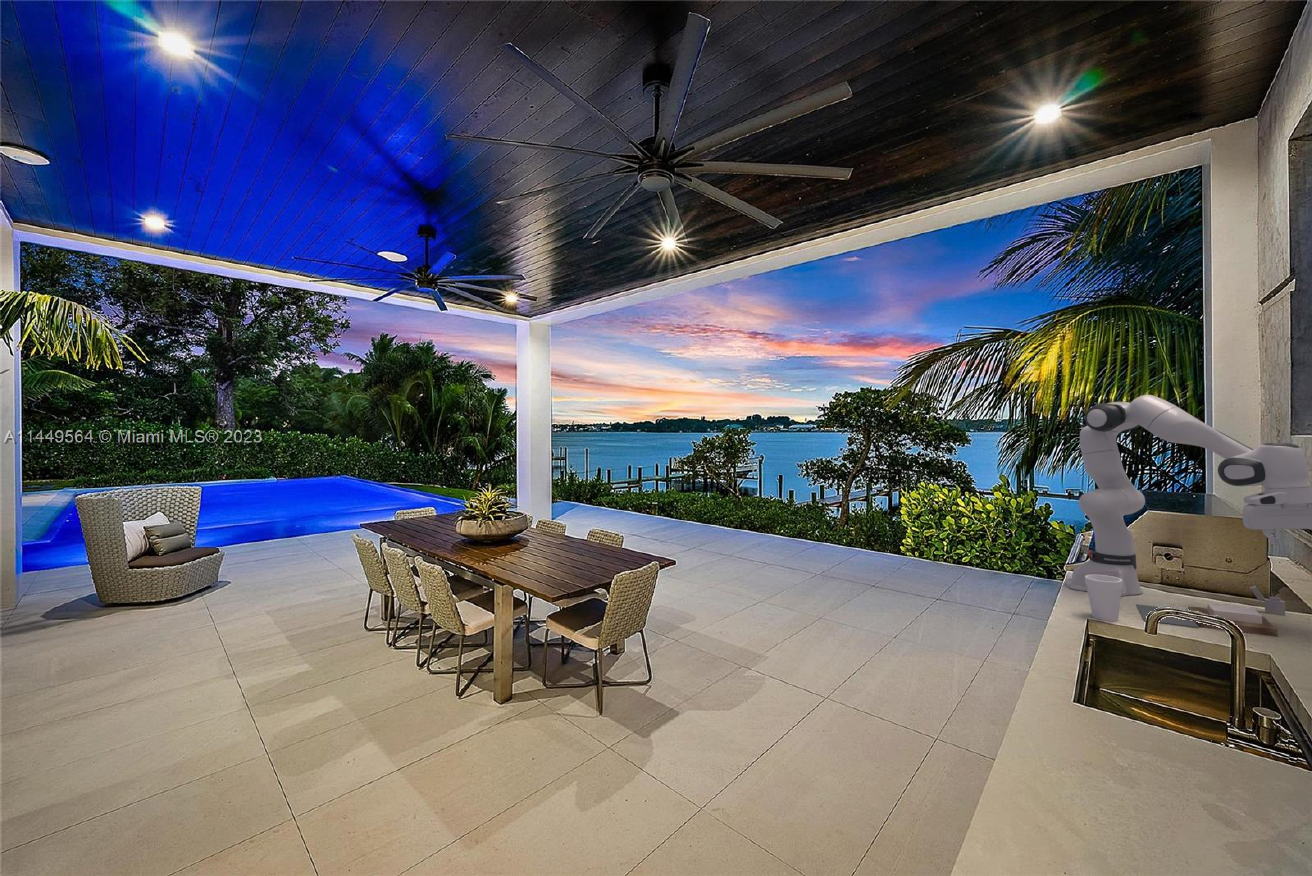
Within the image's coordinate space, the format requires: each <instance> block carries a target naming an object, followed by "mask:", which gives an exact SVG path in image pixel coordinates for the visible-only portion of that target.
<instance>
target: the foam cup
mask: <svg viewBox="0 0 1312 876" xmlns="http://www.w3.org/2000/svg"><path fill="white" fill-rule="evenodd" d="M1085 584H1086V586H1087V591H1086V592H1087V595H1088V599H1089V604H1090V609H1091V612H1092V613H1091V614H1092V617H1093V616H1094V617H1093V618H1095V619H1098V620H1100V621H1101V620H1102V621H1108V622H1113V621H1114V622H1117V621H1119V616H1120V607H1121V598H1122V596H1121V590H1122V588H1123V586H1122V579H1120V578H1117V577H1113V576H1107V575H1086V576H1085Z"/></svg>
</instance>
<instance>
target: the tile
mask: <svg viewBox="0 0 1312 876" xmlns="http://www.w3.org/2000/svg"><path fill="white" fill-rule="evenodd" d="M1207 608H1208V612H1209V613H1210V615H1218V616H1220V617H1221V618H1225V619H1226V620H1232V621H1240V622H1249V623H1258V624H1262V616H1263V615H1262V614H1261V613H1259V611H1257V610H1256V609H1255V608H1252V607H1251V608H1249V607H1240V606H1239V607H1238V606H1232V605H1229V606H1228V605H1221V604H1211V603H1207Z"/></svg>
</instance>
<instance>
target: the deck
mask: <svg viewBox="0 0 1312 876" xmlns="http://www.w3.org/2000/svg"><path fill="white" fill-rule="evenodd" d="M1188 609H1189V610H1191V611H1199V612H1202V613H1205V614H1208V615H1210V613H1209V612H1208V607H1196V606H1189V605H1188V606H1187V610H1188ZM1230 621H1232V620H1230ZM1233 622H1234V623H1235V625H1238V627H1239V628H1240V629H1241V630H1242V631H1243V632H1242V633H1245V632H1249V633H1248V634H1256V635H1262V636H1263V635H1264V636H1270V635H1271V636H1272V637H1279V635H1278V634H1279V633H1278V629H1277V628H1276V626H1274V625H1273V624H1272V623H1271V622H1269V620H1267V619H1266V618H1265V617H1264V616H1263V615H1262V624H1258V623H1249V622H1240V621H1233ZM1195 623H1196V624H1197V625H1198V627H1199V628H1205V629H1206V628H1207V629H1213V630H1214V629H1215V630H1223V631H1225V630H1224V629H1221V628H1218V627H1216V626H1212V625H1207V624H1203V623H1198V622H1195ZM1271 636H1270V637H1271Z"/></svg>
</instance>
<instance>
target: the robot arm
mask: <svg viewBox="0 0 1312 876" xmlns="http://www.w3.org/2000/svg"><path fill="white" fill-rule="evenodd" d="M1084 422H1085V424H1086V426H1084V427H1082V428H1081V430H1080V431H1079V446H1080V451H1081V457H1082V460H1083V466H1084V468H1085V469H1084V470H1085V473H1086V475H1087V476H1088V477H1090V478H1091V479H1092V480H1093V481H1094V482H1095V484H1096V485H1097V487H1098V488H1095V489H1092V490H1090V491H1087V492H1085V493H1083V494H1082V495H1081V496H1080V497H1079V500H1078V507H1079V509H1080V511H1082V513H1083V514H1084V515H1086V516H1087V518H1088V519H1089V522H1090V524H1091V527H1092V528H1093V534H1094V543H1095V546H1094V547H1095V550H1094V551H1093V550H1092V549H1088V550H1086V552H1087V555H1088V558H1089V560H1088V561H1085V562H1083V563H1082V564H1080V565H1078V566H1076V567H1075V568H1074V569H1073V571H1072V574H1071V578H1068V579H1066V580H1065V582H1064V583H1065V586H1066V587H1067V588H1068V589H1070V590H1075V591H1082V592H1088V591H1087V586H1086V584H1085V576H1086V575H1107V576H1113V577H1117V578H1120V579H1122V586H1123V588H1122V590H1121V597H1125V596H1134V595H1140V594H1142V593H1143V590H1142V587H1141V585H1140V582H1139V578H1138V574H1137V567H1138V560H1137V559H1138V558H1137V556H1136V553H1135V546H1134V533H1133V532H1132V531H1131V530H1130V529H1129V528H1128V527H1127V525H1126V523H1125V520H1124V516H1127V515H1133V514H1134V513H1137V512H1139V511H1140V510H1142V509H1143V508H1144V506H1145V504H1146V498H1145V495H1144V494H1143V492H1142V491H1140V490H1138V489H1137V488H1136V487H1135V486H1134V484H1133V483H1132V481H1131V480H1130V478H1129V477H1128V475H1127V473H1126V471H1125V469H1124V466H1123V463H1122V457H1121V453H1120V450H1119V447H1118V443H1117V436H1118V435H1119V434H1126V433H1128V432H1130V431H1132V430H1135V429H1137V428H1139V427H1142V428H1144V429H1145V430H1146V431H1148V432H1150V433H1151V434H1153V435H1154V436H1155V437H1158V438H1159V439H1161V440H1164V441H1166V442H1168V443H1173V444H1182V445H1189V446H1195V447H1201V448H1204V449H1206V450H1208V451H1211V452H1213V453H1214V454H1216V455H1218V456H1220V457H1221V458H1223V459H1224V460H1222V461H1221V462H1220V463H1219V464H1218V466H1217V474H1218V476H1219V478H1220V479H1221V480H1222V481H1223V482H1224V483H1225V484H1227V485H1230V486H1233V487H1240V488H1241V487H1242V488H1243V487H1255V486H1256V487H1257V486H1264V491H1261V492H1258V493H1255V494H1251V495H1246V496H1245V497H1244V498H1243V502H1244V503H1245V506H1243V508H1242V522H1243V523H1242V524H1243V526H1244V527H1245V528H1247V529H1248V530H1252V531H1253V530H1254V531H1255V530H1256V531H1257V530H1258V531H1259V530H1261V531H1262V534H1263V535H1264V536H1265V537H1266V538H1267V539H1268V541H1269V542H1268V543H1269V544H1270V545H1271V546H1277V545H1278V546H1279V545H1281V543H1280V538H1276V537H1274V536H1273V535H1272V534H1273V530H1307V529H1308V530H1311V529H1312V484H1311V482H1310V481H1309V478H1308V475H1309V466H1308V462H1307V459H1306V456H1305V453H1304V451H1303V449H1302V448H1301V447H1300V446H1298V445H1297V444H1294V443H1287V442H1265V443H1262V444H1260V445H1259V446H1258V447H1256V448H1255V449H1253V448H1252V447H1249V446H1248V445H1245V444H1244V443H1242V442H1240V441H1239V440H1237V439H1234V438H1233V437H1231V436H1229V435H1227V434H1225V433H1223V432H1222V431H1219V430H1217V429H1216V428H1214V427H1212V426H1210V425H1208V424H1207V423H1205V422H1203V421H1202V420H1200V419H1198V418H1197V417H1195V416H1193V415H1191V414H1190V413H1188V412H1187V411H1185V410H1184V409H1182V408H1180V407H1179V406H1177V405H1175V404H1173V403H1171V402H1169V401H1167V400H1165V399H1163V398H1162V397H1158V396H1155V395H1152V394H1143V395H1140V396H1137V397H1136V398H1134V399H1133V400H1132V401H1111V402H1106V403H1104V402H1102V403H1098V404H1095V405H1093V406H1092V405H1091V407H1089V408H1088V409H1087V410H1086V412H1085V414H1084Z"/></svg>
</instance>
